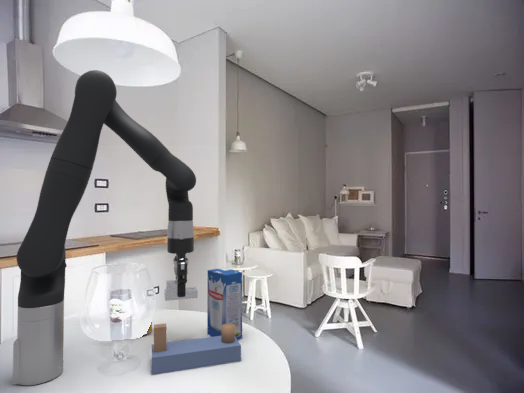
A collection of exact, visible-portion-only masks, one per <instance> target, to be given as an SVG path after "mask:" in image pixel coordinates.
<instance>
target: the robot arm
mask: <svg viewBox="0 0 524 393" xmlns="http://www.w3.org/2000/svg"><path fill="white" fill-rule="evenodd" d="M117 93H118V92H117V86H116V84H115V82H114V80H113V78H112V77H111V76H110V74H108V73H106V72H105V71H102V70H97V69H94V70H89V71H86V72H84V73H83V74H81V75H80V76H79V78H78V79H77V81H76V83H75V87H74V98H73V103H72V107H71V112H70V114H69V118H68V121H67V122H66V125H65V126H64V128H63V130H62V132H61V134H60V136H59V139H58V141H57V143H56V145H55V147H54V150H53V151H52V154H51V156H50V158H49V162H48V164H47V168H46V171H45V174H44V178H43V181H42V184H41V189H40V192H39V196H38V202H37V206H36V210H35V213H34V216H33V218H32V221H31V223H30V226H29V227H28V230H27V231H26V234H25V236H24V238H23V240H22V242H21V243H20V246H19V248H18V250H17V252H16V264H17V267H18V268H19V269H20V283H19V289H18V293H17V321H16V323H17V326H16V328H17V329H16V334H17V335H16V337H17V338H16V339H15V340H14V341H13V347H12V348H13V350H12V355H13V356H12V358H13V359H12V385H21V386H35V385H39V384H40V385H41V384H44V383H47V382H49V381H51V380H54V379H56V378H58V377H59V376H60V375H61V374H63V372H64V343H65V342H64V340H65V339H64V336H65V334H64V330H65V327H64V325H65V322H64V321H65V319H64V318H65V317H64V316H65V289H66V288H65V287H66V247H65V246H66V241H67V236H68V231H69V228H70V225H71V221H72V218H73V216H74V214H75V212H76V211H77V208H78V206H79V205H80V203H81V201H82V198H83V196H84V194H85V191H86V190H87V186H88V184H89V181H90V178H91V175H92V173H93V172H92V171H93V168H94V165H95V161H96V157H97V153H98V150H99V149H98V148H99V143H100V137H101V133H102V130H103V126H104V125H105V126H106V127H108V128H109V129H110V130H111V131H112V132H114V133H115V134H116V135H117V136H118V137H119V138H120V139H121V140H123V142H124V143H125V144H127V146H129V147H130V148H131V149H132V150H133V151H134V152H135V153H136V154H137V156H139V157H140V159H141V160H142V161H143V162H145V163H146V164H147V165H148V167H150V168H151V169H152V170H153V171H155V172H158V173H160V174H161V175H162V176H164V177H165V193H166V198H167V203H168V210H167V211H168V215H167V216H168V217H167V218H168V219H167V220H168V224H167V236H166V238H167V241H166V242H167V248H166V249H167V253H168V254H174V255H175V256H174V258H173V261H172V262H173V265H174V266H173V271H174V276H175V277H174V278H175V280H177V296H178V297H185V295H186V288H187V287H186V284H187V282H188V279H187V278H188V273H189V272H188V270H189V269H188V265H189V259H188V257H186V254H190V253H193V252H194V251H195V243H194V242H195V233H194V232H195V229H194V228H195V227H194V213H193V212H194V207H193V203H192V202H191V201H190V199H189V197H190V196H189V191H190V192H191V190H193V189H194V188H195V186H196V184H197V176H196V174H195V172H194V171H193V170H192V169H191V167H190V166H189V165H187V163H185V162H183V161H182V160H181V159H179V158H178V157H177V156H176V155H174V154H173V153H171V151H170V150H169V149H168V148H167V147H166V146H165V145H164V144H163V143H162V141H160V140H159V139H158V138H157V137H156V136H155V135H154V134H153V132H151V131H149V130H148V129H147V128H145V127H144V126H143V125H141V124H139V123H138V122H137V121H136V120H134V119H133V118H132V117H131V116H130V115H129V114H127V112H126V111H125V110H124V109H123V108H122V107H121V106H120V104H119V103H118V102H117V100H116V99H117V95H118V94H117Z"/></svg>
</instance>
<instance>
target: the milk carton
mask: <svg viewBox="0 0 524 393" xmlns="http://www.w3.org/2000/svg"><path fill="white" fill-rule="evenodd" d="M206 295H207V300H206V301H207V309H206V310H207V314H206V315H207V328H206V329H207V330H206V331H207V333H206V334H207V336H209V337H214V336H221V326H222V325H223V324H226V323H232V324H234V325H235V337H236V338H237V340H238V341H239V340H242V339H243V272H242V271H238V270H234V269H231V268H226V267H222V268H221V267H220V268H214V269H208V270H207V294H206Z"/></svg>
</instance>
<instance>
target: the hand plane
mask: <svg viewBox="0 0 524 393" xmlns="http://www.w3.org/2000/svg"><path fill="white" fill-rule="evenodd" d="M241 361H242V345H241V344H240V342H239V340H237V338H236V337H235V325H234V324H232V323H226V324H223V325H222V326H221V336H214V337H211V336H207V337H201V338H200V337H199V338H191V339H185V340H175V341H169V342H167V323H165V322H164V323H160V324H159V323H158V324H153V344H151V371H150V372H151V375H152V376H154V375H161V374H165V373H166V374H167V373H172V372H180V371H184V370H185V371H186V370H192V369H198V368H203V367H204V368H205V367H211V366H217V365H224V364H230V363H237V362H241Z"/></svg>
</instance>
